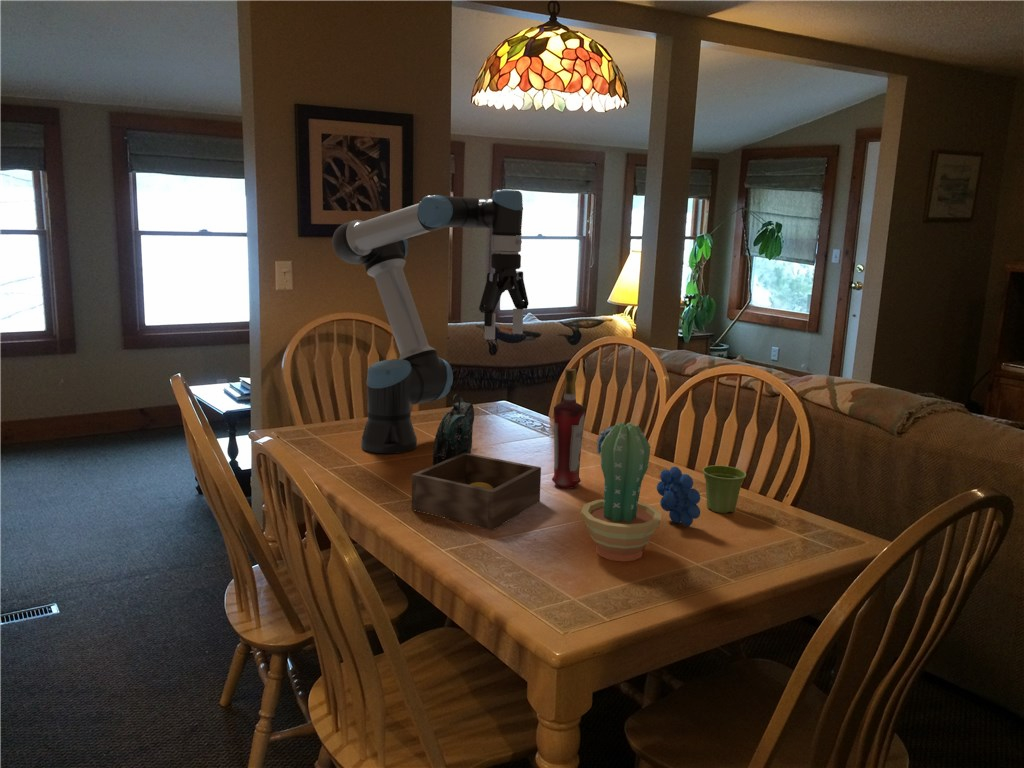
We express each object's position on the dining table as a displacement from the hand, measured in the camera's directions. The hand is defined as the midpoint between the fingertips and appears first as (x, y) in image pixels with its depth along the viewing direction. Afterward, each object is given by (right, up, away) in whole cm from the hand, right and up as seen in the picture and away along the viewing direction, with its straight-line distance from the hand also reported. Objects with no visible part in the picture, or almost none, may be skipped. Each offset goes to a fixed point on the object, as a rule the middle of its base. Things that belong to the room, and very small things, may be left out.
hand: (503, 336), depth 206 cm
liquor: (+15, -37, -15) cm, 42 cm away
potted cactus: (+23, -45, -53) cm, 73 cm away
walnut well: (-6, -39, -30) cm, 50 cm away
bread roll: (-5, -38, -31) cm, 49 cm away
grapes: (+36, -42, -38) cm, 67 cm away
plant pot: (+49, -40, -28) cm, 69 cm away
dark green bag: (-12, -35, -10) cm, 38 cm away
